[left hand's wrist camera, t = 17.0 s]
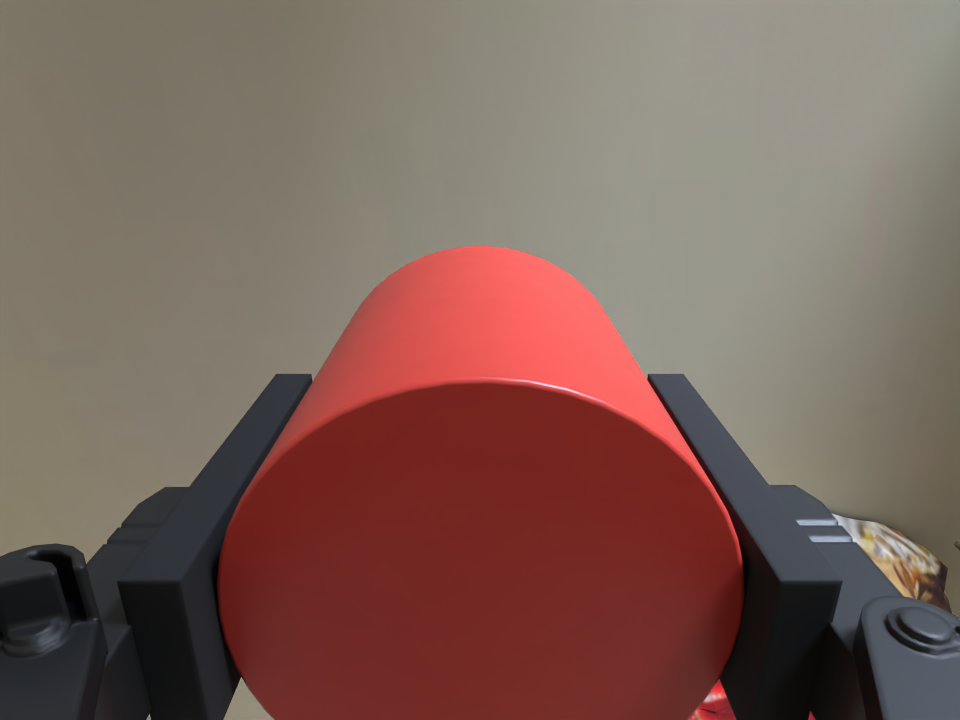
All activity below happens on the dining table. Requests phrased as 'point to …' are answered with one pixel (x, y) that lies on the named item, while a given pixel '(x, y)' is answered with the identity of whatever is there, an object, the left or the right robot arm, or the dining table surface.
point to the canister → (480, 518)
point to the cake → (900, 564)
